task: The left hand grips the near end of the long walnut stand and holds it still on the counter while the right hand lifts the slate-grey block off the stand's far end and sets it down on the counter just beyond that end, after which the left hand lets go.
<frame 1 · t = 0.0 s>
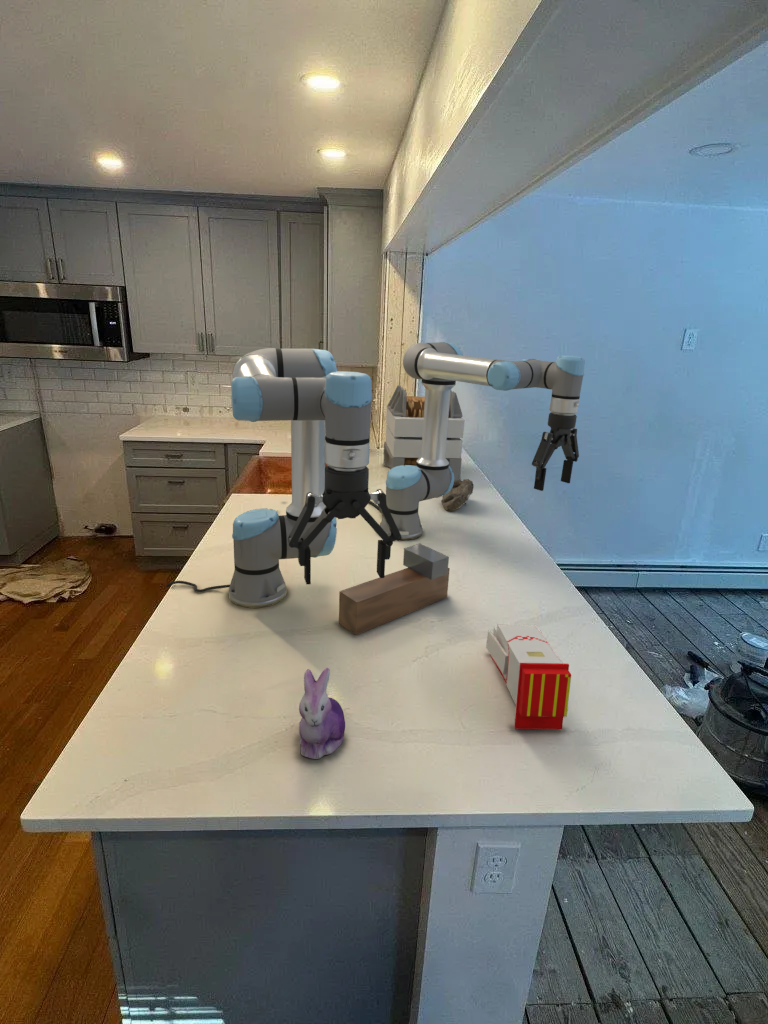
left hand: (344, 578, 104), 28 cm above the counter, fingers open, 13 cm apart
right hand: (552, 485, 166), 28 cm above the counter, fingers open, 13 cm apart
grey block: (424, 569, 153), point 9 cm above the counter, touching walnut stand
toy: (519, 685, 121), on the counter
figurine: (321, 742, 103), on the counter
walnut stand: (395, 609, 149), on the counter, touching grey block
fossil: (456, 504, 233), on the counter
figurine character: (359, 451, 311), on the counter
transformer: (419, 473, 275), on the counter
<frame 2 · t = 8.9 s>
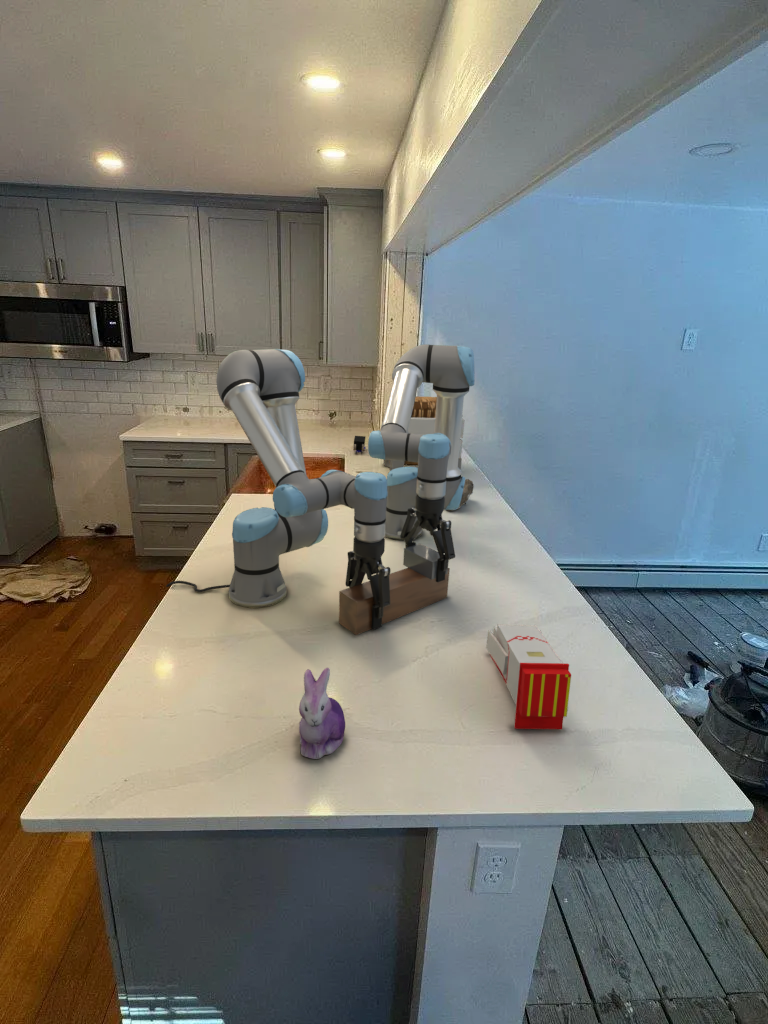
left hand: (366, 620, 143), 0 cm above the counter, fingers open, 7 cm apart
right hand: (424, 572, 153), 8 cm above the counter, fingers closed on grey block, 11 cm apart
grey block: (424, 569, 153), point 9 cm above the counter, touching right hand, walnut stand
everything else where it was.
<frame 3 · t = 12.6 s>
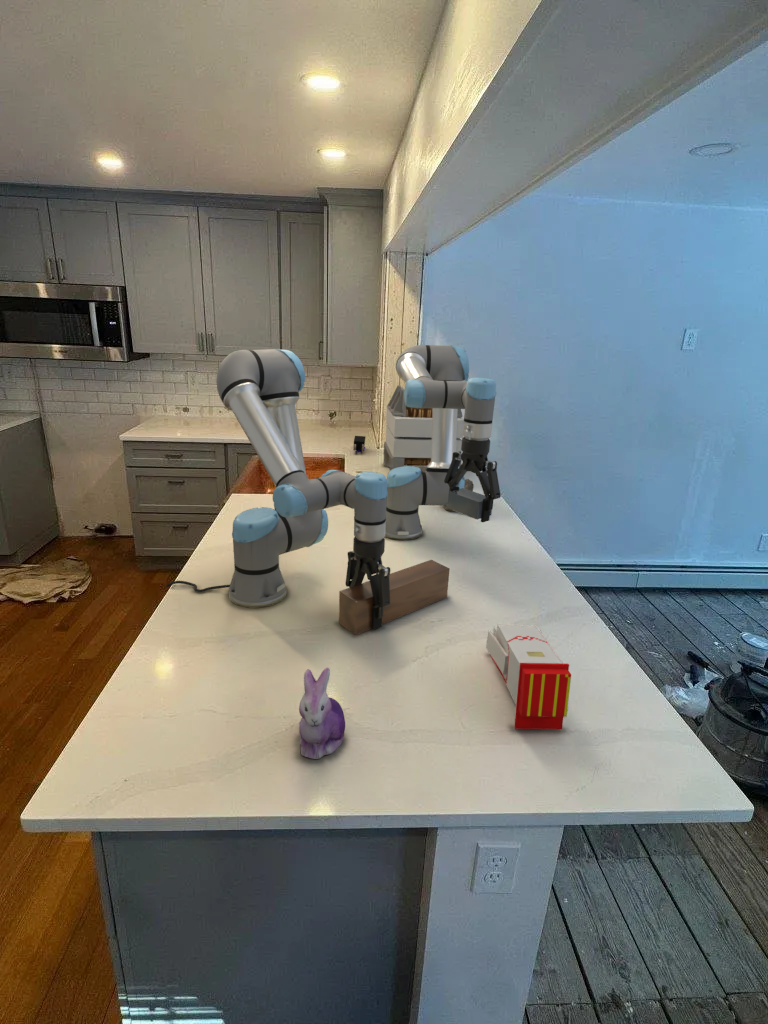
left hand: (366, 620, 143), 0 cm above the counter, fingers open, 7 cm apart
right hand: (468, 515, 158), 21 cm above the counter, fingers closed on grey block, 11 cm apart
grey block: (469, 511, 158), point 22 cm above the counter, touching right hand
walnut stand: (395, 609, 149), on the counter
everything else where it was.
when the right hand's fingers open (2 cm above the counter, at t = 16.5 s): grey block drops 3 cm, on the counter.
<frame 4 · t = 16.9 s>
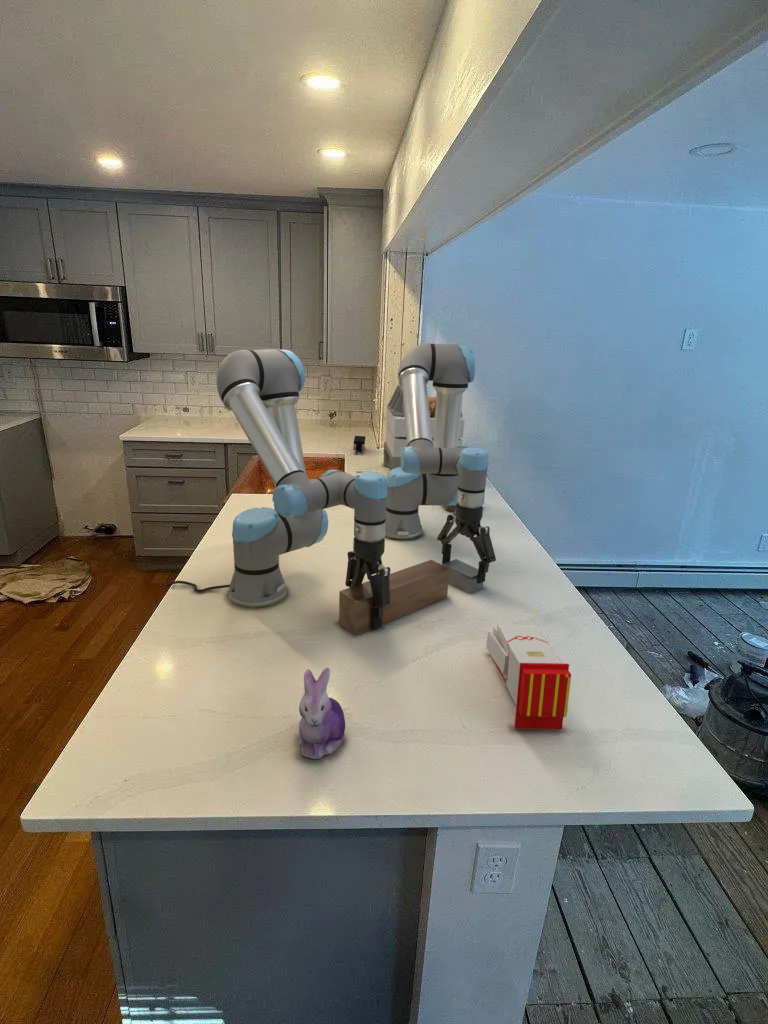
left hand: (366, 620, 143), 0 cm above the counter, fingers open, 7 cm apart
right hand: (462, 573, 165), 3 cm above the counter, fingers open, 13 cm apart
grey block: (461, 583, 166), on the counter
everything else where it was.
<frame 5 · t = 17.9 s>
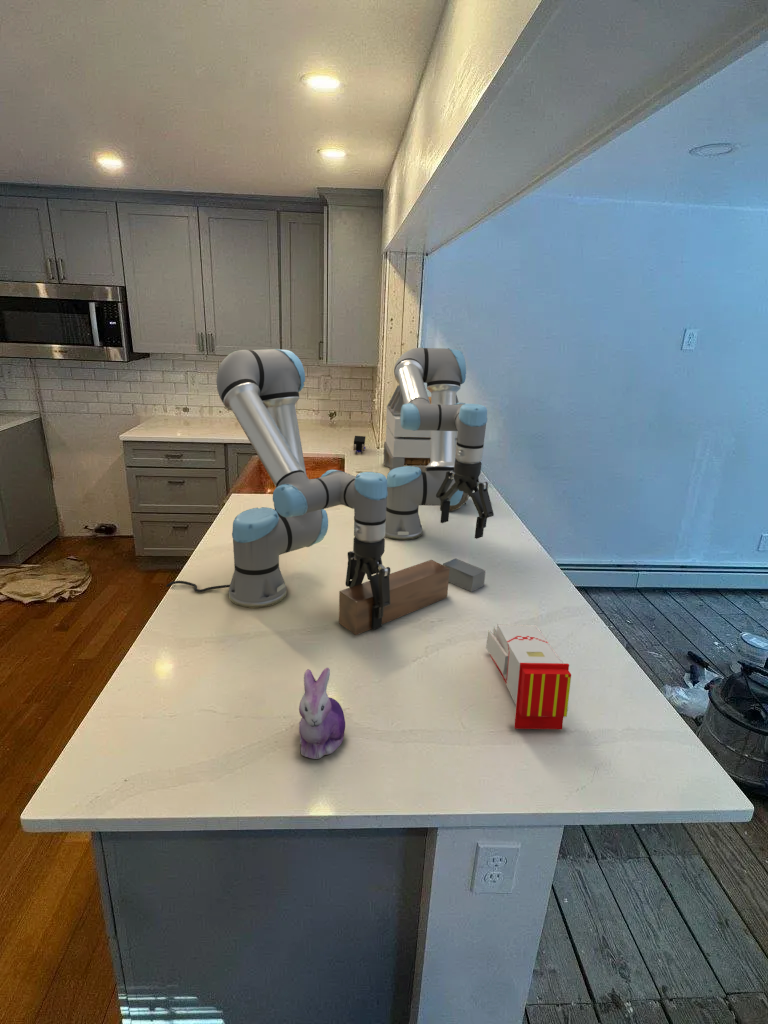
left hand: (366, 620, 143), 0 cm above the counter, fingers open, 7 cm apart
right hand: (461, 529, 167), 14 cm above the counter, fingers open, 13 cm apart
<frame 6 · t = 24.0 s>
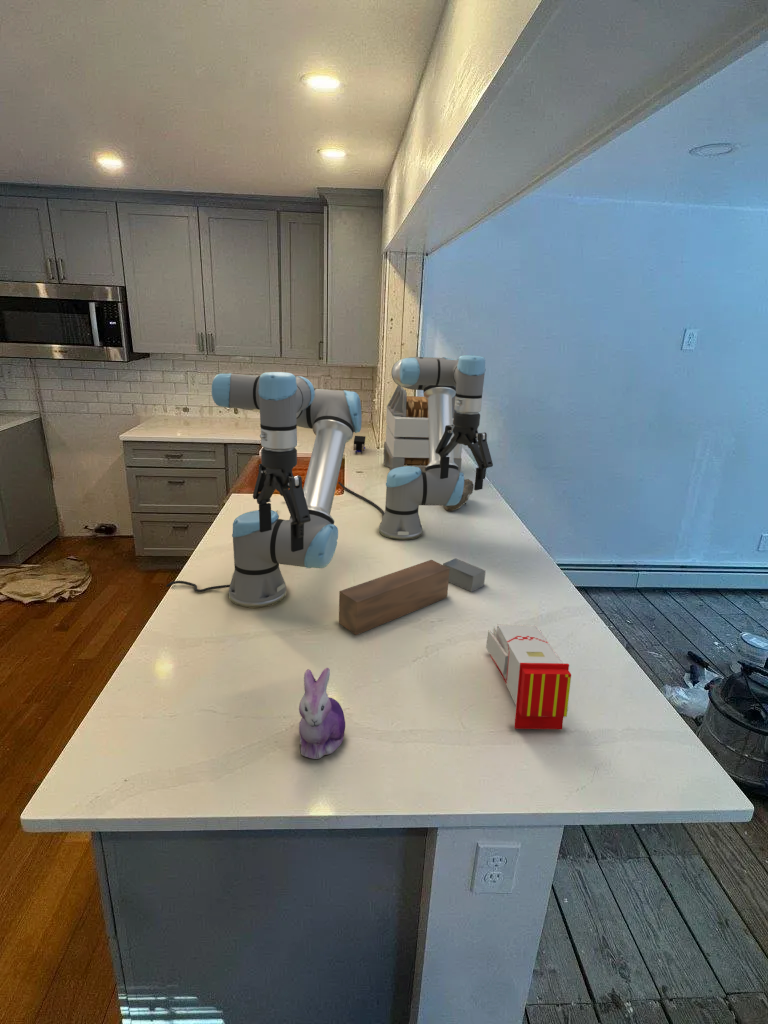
left hand: (280, 540, 127), 25 cm above the counter, fingers open, 13 cm apart
right hand: (460, 483, 168), 27 cm above the counter, fingers open, 13 cm apart
nothing on the counter moved.
at the end: grey block inside the target area (0.8 cm from its centre), on the counter; walnut stand moved 0.0 cm from its start; the left hand is holding nothing; the right hand is holding nothing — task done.
